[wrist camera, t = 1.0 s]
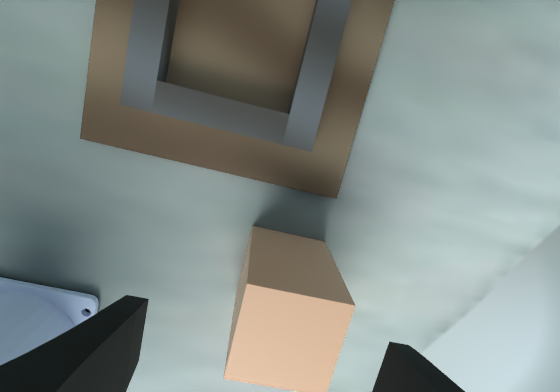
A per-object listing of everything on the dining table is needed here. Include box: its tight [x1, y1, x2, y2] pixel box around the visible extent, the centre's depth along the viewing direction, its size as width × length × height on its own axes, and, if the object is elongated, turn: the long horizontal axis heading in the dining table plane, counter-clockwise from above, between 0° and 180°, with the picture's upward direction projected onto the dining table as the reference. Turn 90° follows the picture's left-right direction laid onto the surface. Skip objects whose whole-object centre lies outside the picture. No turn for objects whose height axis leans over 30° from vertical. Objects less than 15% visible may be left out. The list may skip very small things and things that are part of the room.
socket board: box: [80, 0, 395, 199], centre depth 17 cm, size 14×14×2 cm
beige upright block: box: [224, 226, 355, 392], centre depth 17 cm, size 4×4×7 cm
